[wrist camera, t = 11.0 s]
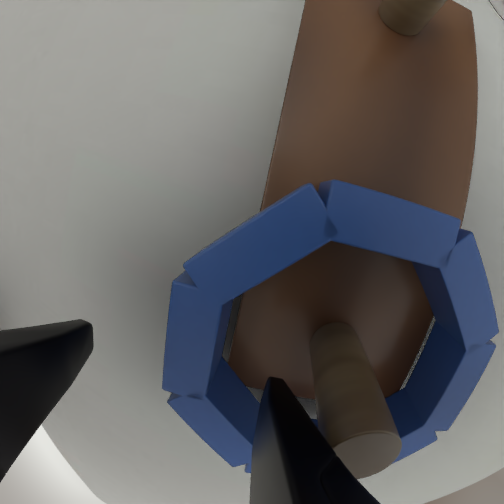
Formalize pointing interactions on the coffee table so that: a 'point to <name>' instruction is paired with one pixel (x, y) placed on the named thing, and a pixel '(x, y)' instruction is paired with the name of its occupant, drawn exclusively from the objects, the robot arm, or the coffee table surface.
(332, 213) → the ring
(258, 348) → the rack
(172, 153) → the coffee table surface
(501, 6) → the chalice
